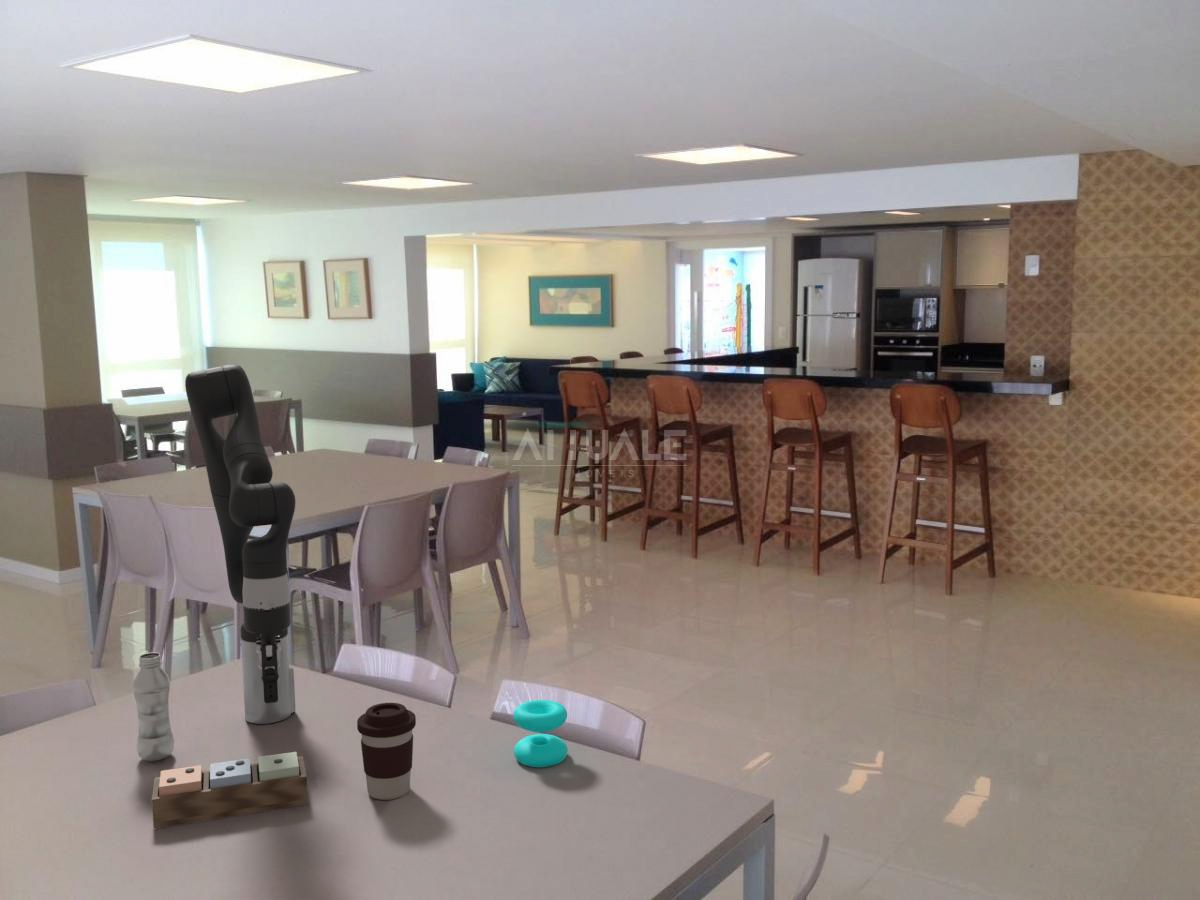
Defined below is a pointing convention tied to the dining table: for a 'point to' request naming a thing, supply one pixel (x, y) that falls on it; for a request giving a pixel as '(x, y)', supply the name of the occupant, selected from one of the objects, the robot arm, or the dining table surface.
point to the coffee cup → (387, 749)
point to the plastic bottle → (153, 709)
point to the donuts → (540, 746)
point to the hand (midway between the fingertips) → (270, 693)
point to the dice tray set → (229, 798)
